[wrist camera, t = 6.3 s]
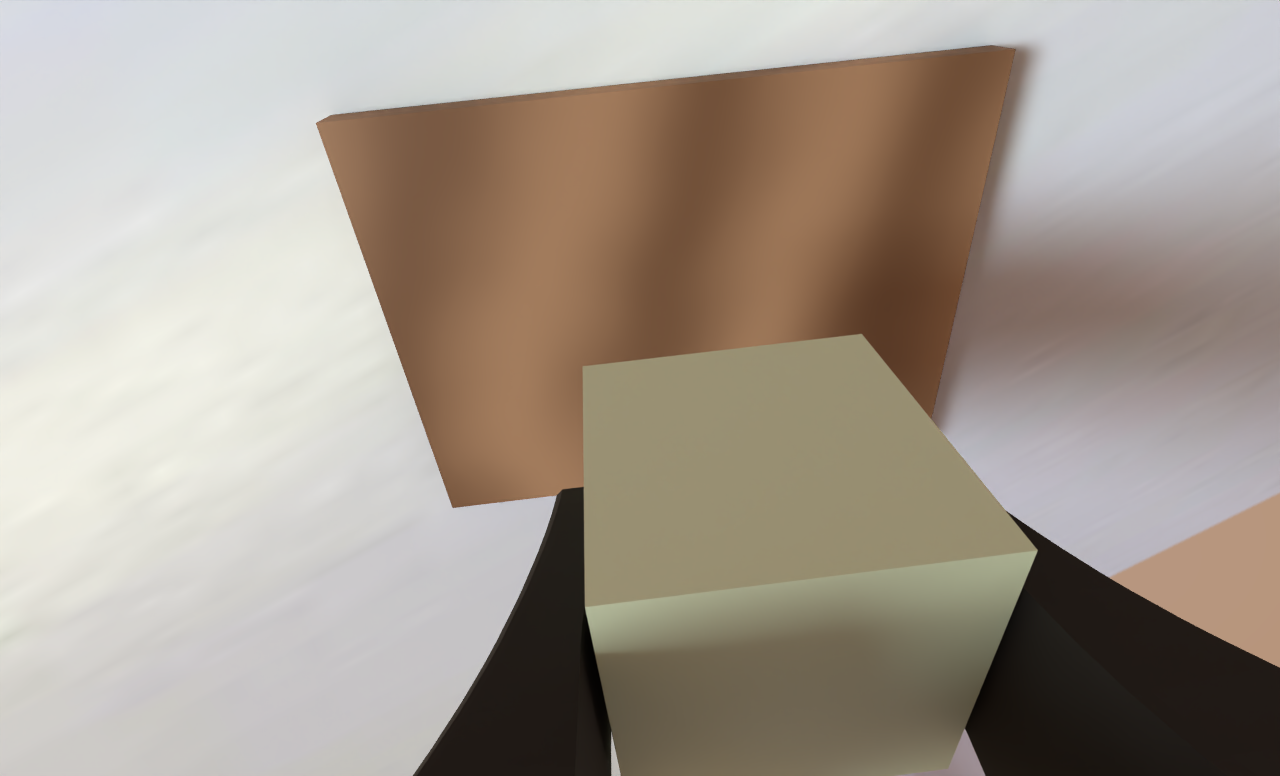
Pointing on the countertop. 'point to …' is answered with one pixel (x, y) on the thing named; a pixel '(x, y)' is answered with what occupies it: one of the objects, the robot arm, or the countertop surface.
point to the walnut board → (660, 236)
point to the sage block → (786, 565)
